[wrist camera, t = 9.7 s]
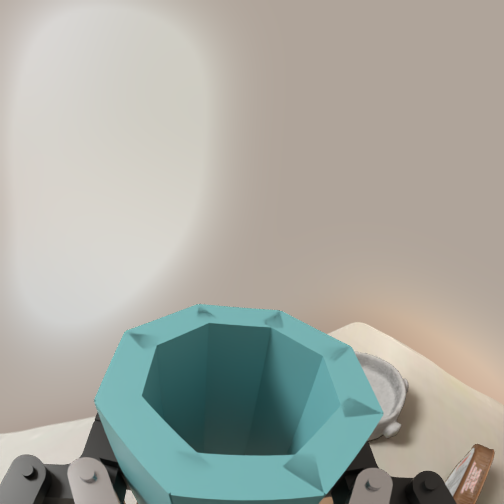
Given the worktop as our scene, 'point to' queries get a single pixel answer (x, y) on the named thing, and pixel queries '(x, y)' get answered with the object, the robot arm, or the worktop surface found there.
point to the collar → (234, 408)
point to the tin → (470, 475)
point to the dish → (385, 392)
